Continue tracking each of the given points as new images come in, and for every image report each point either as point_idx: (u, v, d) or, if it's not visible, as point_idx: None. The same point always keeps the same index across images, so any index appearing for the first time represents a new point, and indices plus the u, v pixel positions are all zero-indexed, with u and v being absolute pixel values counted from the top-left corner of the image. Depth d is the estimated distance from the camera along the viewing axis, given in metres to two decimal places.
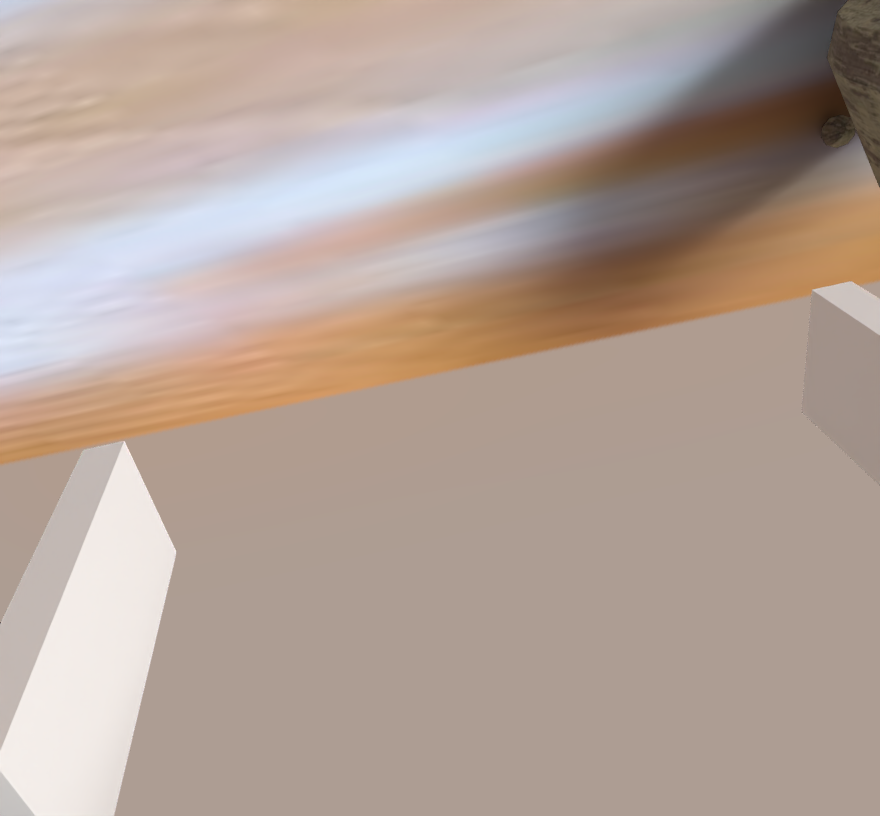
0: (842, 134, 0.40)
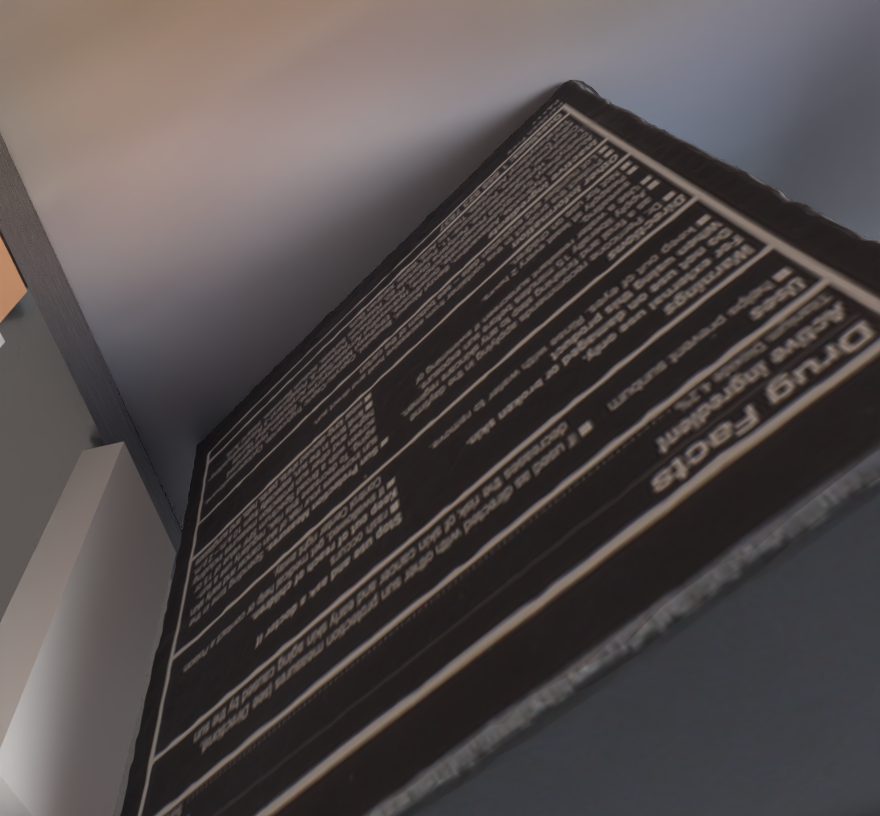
0: None
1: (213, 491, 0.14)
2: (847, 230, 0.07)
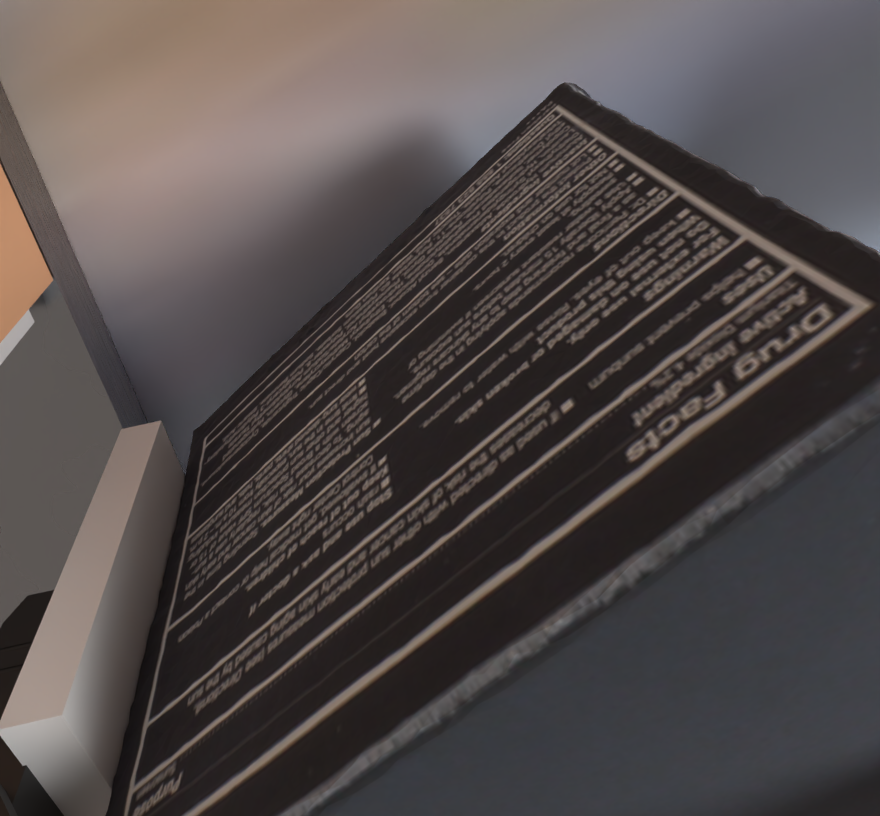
0: None
1: (209, 474, 0.14)
2: (814, 222, 0.07)
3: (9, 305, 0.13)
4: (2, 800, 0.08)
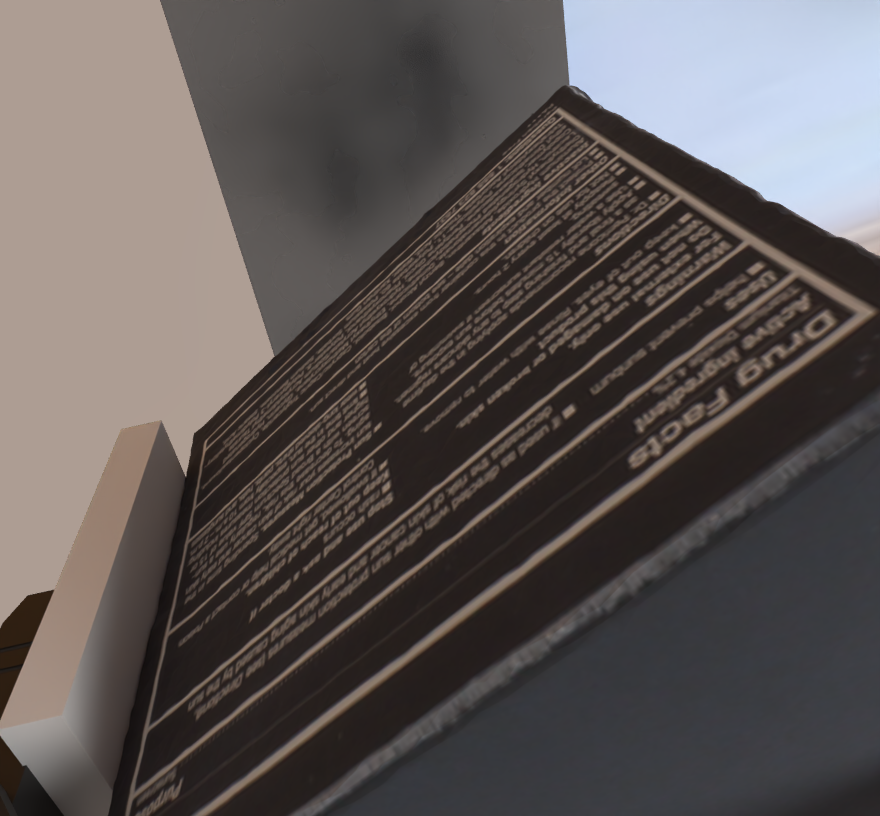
0: None
1: (209, 477, 0.14)
2: (816, 227, 0.07)
3: None
4: (2, 799, 0.08)
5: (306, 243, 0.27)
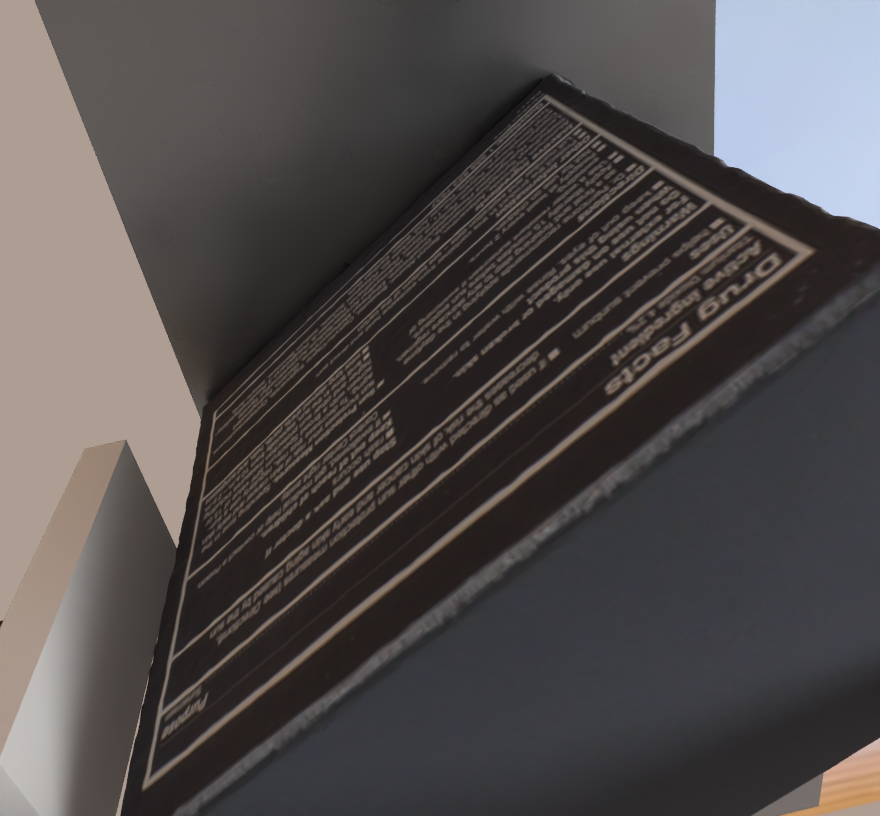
0: None
1: (219, 443, 0.15)
2: (769, 186, 0.08)
3: None
4: None
5: None
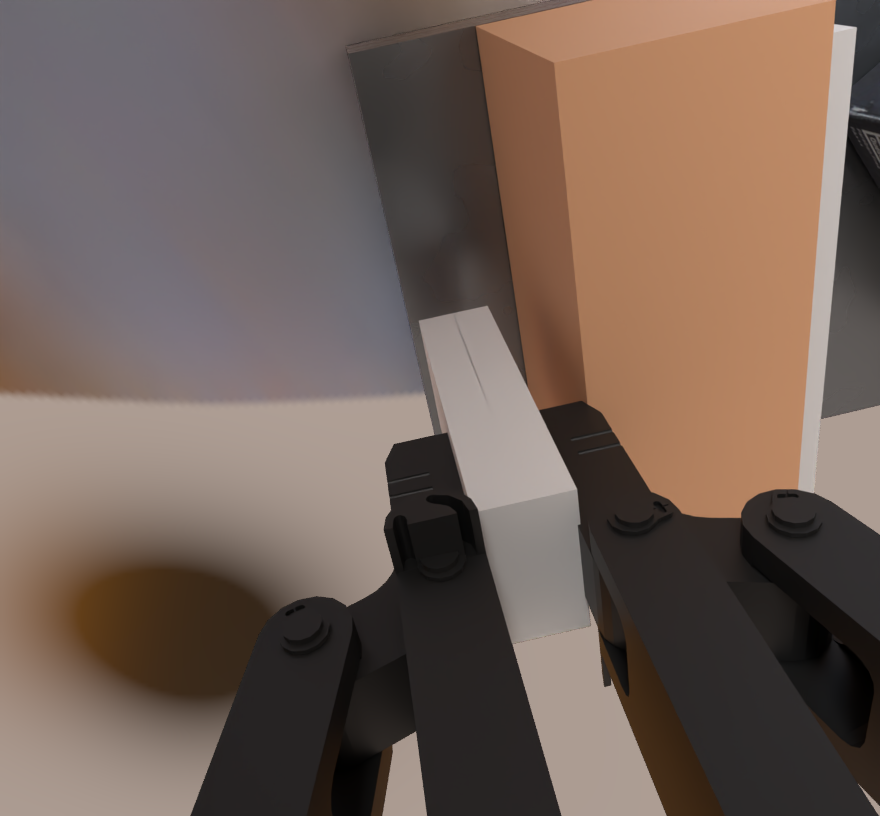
0: None
1: None
2: None
3: None
4: (495, 586, 0.10)
5: None
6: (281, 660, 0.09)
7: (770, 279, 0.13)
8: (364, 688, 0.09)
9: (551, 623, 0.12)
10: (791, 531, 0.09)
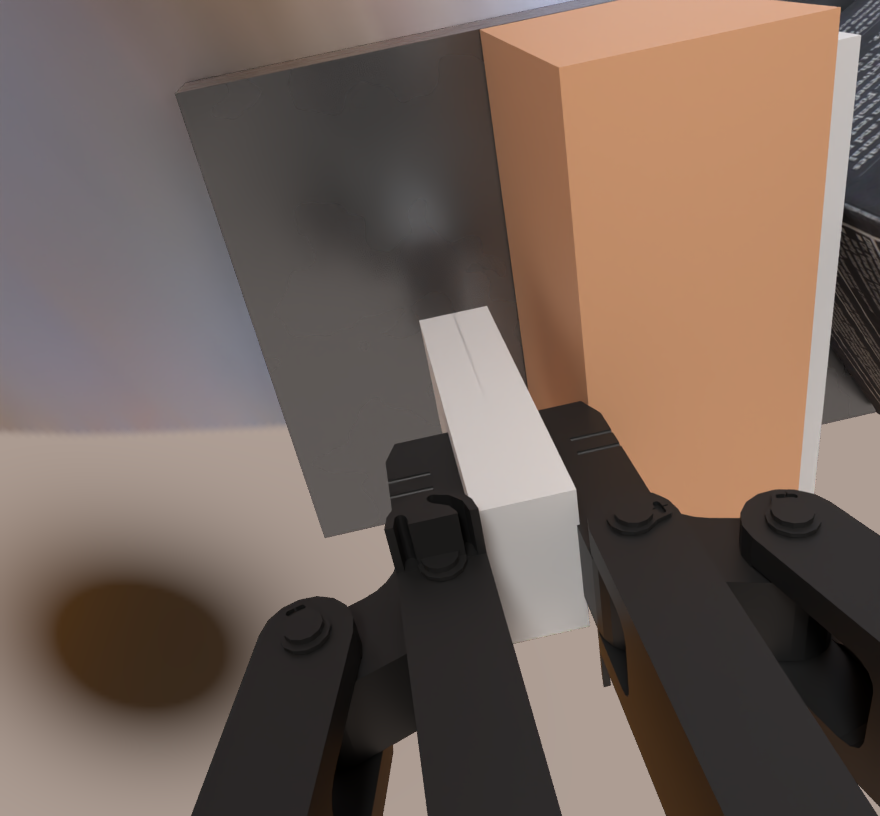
0: None
1: None
2: None
3: None
4: (496, 586, 0.10)
5: None
6: (282, 660, 0.09)
7: (772, 285, 0.13)
8: (364, 688, 0.09)
9: (550, 623, 0.12)
10: (790, 531, 0.09)
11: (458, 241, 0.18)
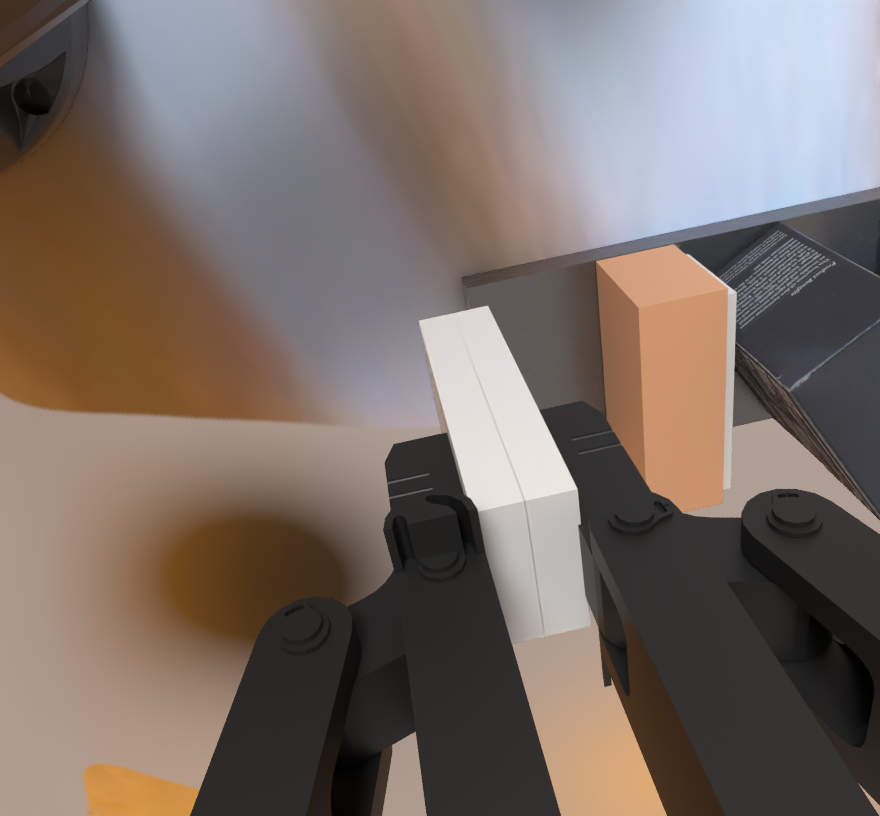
0: None
1: (789, 429, 0.42)
2: (763, 368, 0.33)
3: (684, 259, 0.37)
4: (495, 586, 0.10)
5: None
6: (281, 660, 0.09)
7: (710, 371, 0.35)
8: (363, 688, 0.09)
9: (551, 623, 0.12)
10: (791, 531, 0.09)
11: (573, 342, 0.41)
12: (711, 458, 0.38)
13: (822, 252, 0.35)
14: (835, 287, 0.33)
